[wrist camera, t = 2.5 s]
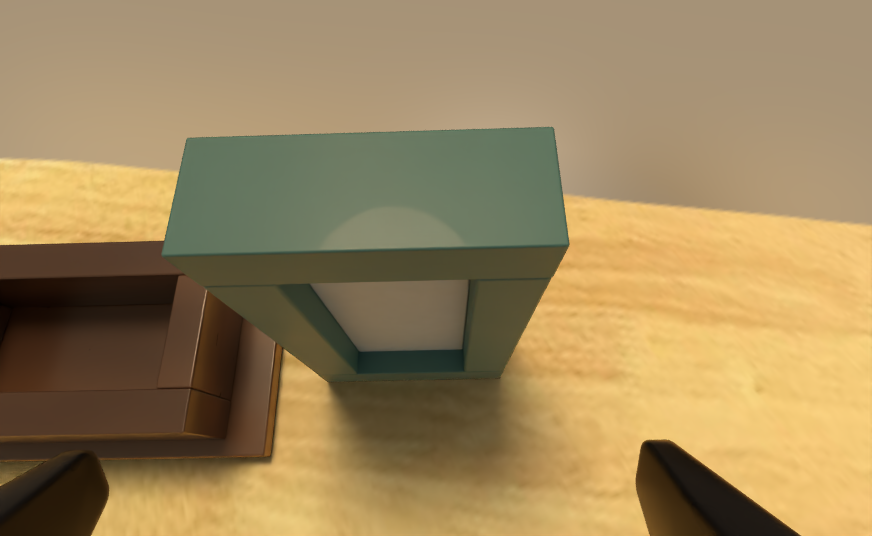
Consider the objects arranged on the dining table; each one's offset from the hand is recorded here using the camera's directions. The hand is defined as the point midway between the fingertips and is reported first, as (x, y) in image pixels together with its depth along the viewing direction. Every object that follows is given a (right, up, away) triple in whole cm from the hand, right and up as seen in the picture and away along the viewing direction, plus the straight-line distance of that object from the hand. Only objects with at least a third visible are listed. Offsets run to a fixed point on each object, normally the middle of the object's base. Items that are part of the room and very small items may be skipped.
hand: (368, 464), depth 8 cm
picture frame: (0, 0, +12) cm, 12 cm away
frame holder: (-12, 0, +12) cm, 17 cm away
